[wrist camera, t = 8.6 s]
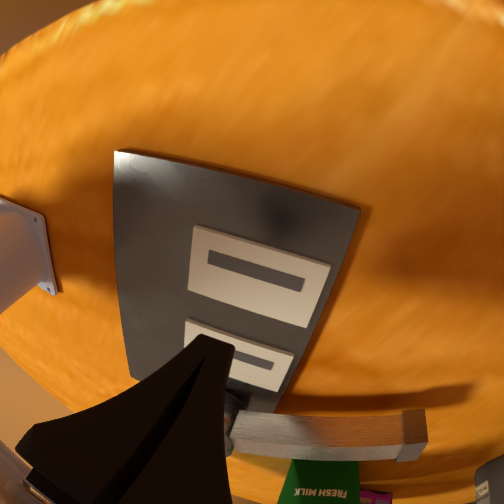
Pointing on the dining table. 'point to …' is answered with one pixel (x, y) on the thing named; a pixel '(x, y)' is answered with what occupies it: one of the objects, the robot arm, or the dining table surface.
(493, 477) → the liquor
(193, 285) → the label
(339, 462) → the milk carton
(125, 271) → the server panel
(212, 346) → the robot arm
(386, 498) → the candy bar box
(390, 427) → the bar
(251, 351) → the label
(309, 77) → the dining table surface
